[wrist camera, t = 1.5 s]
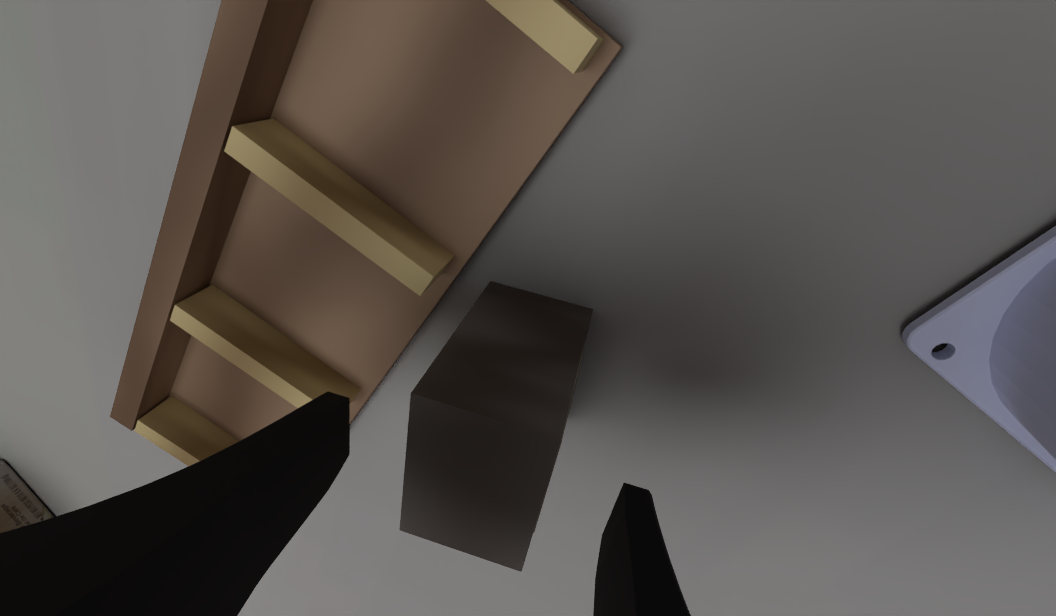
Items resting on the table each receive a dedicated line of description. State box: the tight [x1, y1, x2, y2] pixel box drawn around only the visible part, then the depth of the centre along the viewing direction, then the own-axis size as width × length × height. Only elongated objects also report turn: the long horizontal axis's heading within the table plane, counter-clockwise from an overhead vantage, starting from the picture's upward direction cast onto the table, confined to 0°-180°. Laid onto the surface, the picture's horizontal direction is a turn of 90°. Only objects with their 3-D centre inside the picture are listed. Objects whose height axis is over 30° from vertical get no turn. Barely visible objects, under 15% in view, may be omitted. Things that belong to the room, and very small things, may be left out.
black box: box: [400, 281, 593, 571], centre depth 14 cm, size 4×5×6 cm
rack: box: [110, 0, 623, 466], centre depth 16 cm, size 8×22×2 cm, turn 144°
